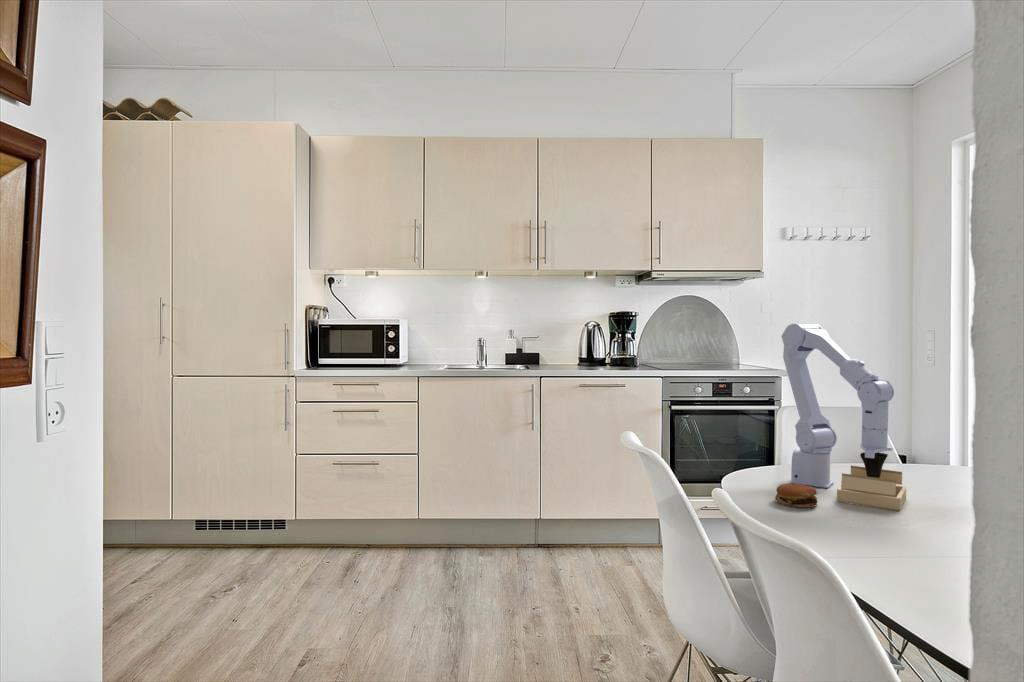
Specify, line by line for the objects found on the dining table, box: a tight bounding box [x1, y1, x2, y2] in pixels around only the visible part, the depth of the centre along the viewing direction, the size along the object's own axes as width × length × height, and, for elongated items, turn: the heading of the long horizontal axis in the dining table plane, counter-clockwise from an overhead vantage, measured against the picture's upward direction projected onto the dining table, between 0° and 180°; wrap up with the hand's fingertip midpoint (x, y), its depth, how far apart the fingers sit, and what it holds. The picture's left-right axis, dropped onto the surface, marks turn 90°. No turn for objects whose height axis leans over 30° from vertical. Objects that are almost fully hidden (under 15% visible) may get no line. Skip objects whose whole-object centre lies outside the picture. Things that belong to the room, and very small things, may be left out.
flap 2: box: [840, 472, 897, 496], centre depth 159 cm, size 12×1×4 cm, turn 53°
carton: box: [836, 484, 907, 512], centre depth 164 cm, size 14×14×3 cm
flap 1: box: [850, 464, 903, 486], centre depth 169 cm, size 12×1×4 cm, turn 53°
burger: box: [774, 483, 819, 508], centre depth 161 cm, size 10×9×5 cm
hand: (873, 482), depth 166 cm, fingers closed
